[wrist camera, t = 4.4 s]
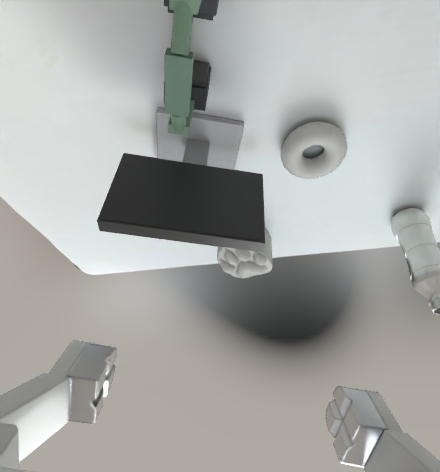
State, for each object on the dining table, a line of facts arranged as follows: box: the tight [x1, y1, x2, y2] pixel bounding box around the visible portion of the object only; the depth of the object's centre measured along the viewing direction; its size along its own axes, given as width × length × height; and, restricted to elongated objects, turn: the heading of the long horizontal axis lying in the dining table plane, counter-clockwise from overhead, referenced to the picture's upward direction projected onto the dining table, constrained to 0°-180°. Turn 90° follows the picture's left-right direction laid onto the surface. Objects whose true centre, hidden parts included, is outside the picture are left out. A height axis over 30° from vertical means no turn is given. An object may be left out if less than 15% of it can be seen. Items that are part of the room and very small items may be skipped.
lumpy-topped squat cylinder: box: [217, 229, 273, 278], centre depth 66 cm, size 10×13×9 cm
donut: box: [281, 122, 347, 179], centre depth 48 cm, size 10×3×10 cm
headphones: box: [164, 0, 219, 136], centre depth 33 cm, size 13×5×14 cm, turn 172°
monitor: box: [97, 107, 265, 252], centre depth 44 cm, size 10×20×20 cm, turn 82°
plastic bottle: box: [391, 208, 440, 315], centre depth 54 cm, size 6×7×20 cm
